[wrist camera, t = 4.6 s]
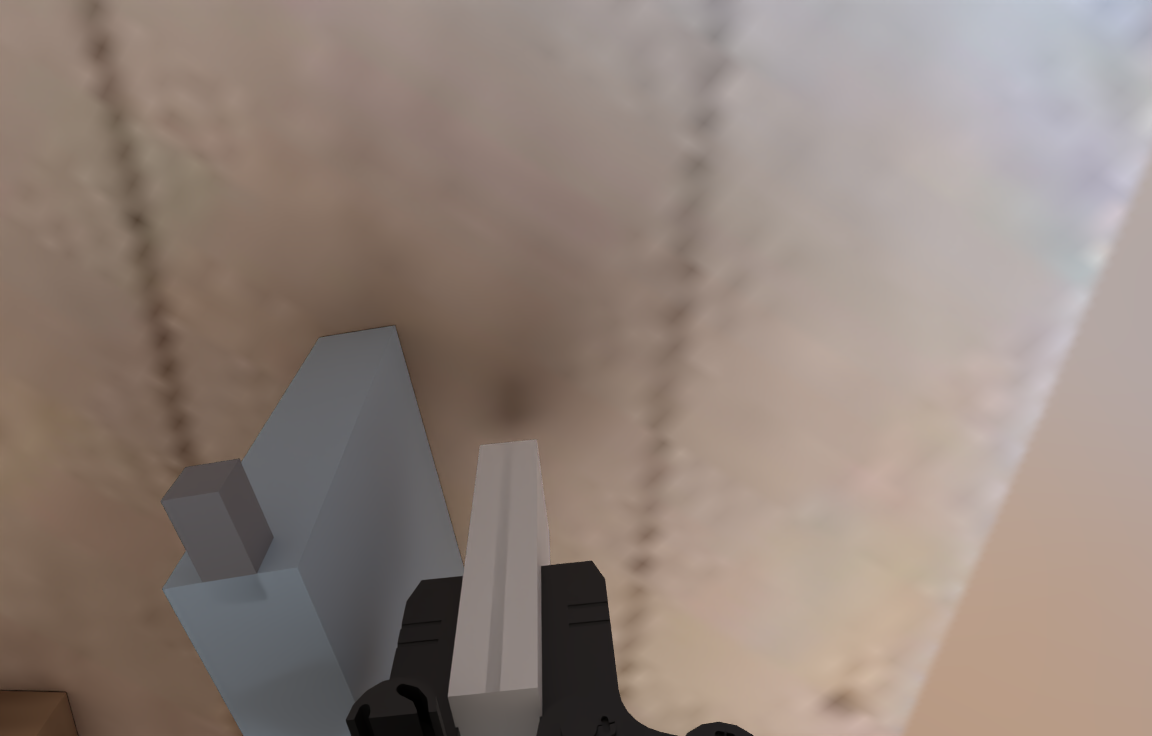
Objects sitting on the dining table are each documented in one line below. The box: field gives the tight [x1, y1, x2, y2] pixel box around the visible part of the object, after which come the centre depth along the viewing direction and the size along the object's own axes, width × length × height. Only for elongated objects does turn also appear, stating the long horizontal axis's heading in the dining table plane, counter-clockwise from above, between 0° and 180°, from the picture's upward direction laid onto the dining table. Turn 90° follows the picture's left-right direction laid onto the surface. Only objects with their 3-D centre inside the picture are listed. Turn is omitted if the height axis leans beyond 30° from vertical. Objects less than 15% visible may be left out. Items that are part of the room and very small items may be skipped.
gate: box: [161, 325, 464, 736], centre depth 16 cm, size 12×2×9 cm, turn 8°
